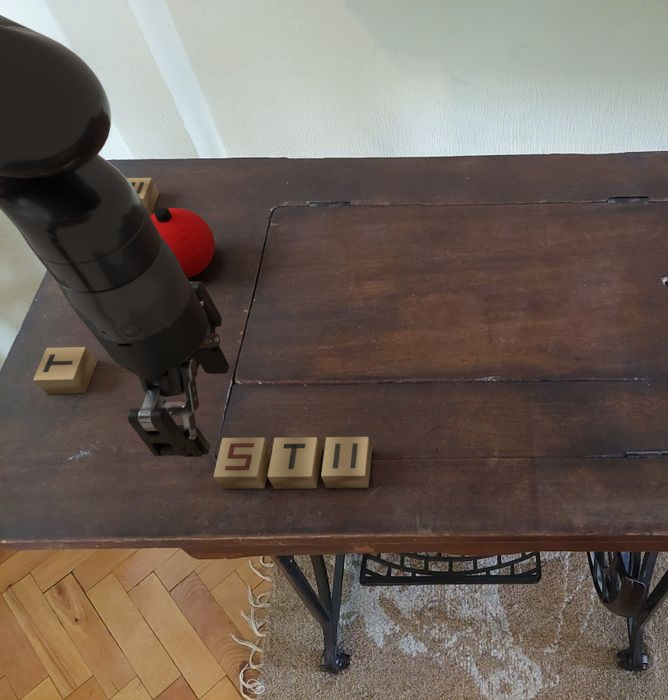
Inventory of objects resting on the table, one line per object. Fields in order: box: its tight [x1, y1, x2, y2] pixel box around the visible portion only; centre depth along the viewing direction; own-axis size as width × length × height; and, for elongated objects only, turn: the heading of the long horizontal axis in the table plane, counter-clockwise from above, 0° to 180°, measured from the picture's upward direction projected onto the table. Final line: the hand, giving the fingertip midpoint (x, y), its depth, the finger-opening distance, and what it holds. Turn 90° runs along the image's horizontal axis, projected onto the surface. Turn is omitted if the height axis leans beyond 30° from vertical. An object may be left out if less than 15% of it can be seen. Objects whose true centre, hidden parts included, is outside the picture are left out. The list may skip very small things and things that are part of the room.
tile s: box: [213, 437, 273, 490], centre depth 68 cm, size 4×4×3 cm
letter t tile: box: [32, 346, 98, 395], centre depth 75 cm, size 4×4×3 cm
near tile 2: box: [267, 436, 323, 490], centre depth 68 cm, size 4×4×3 cm
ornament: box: [150, 207, 216, 279], centre depth 83 cm, size 9×9×10 cm
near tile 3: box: [321, 436, 373, 489], centre depth 69 cm, size 4×4×3 cm
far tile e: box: [126, 177, 160, 216], centre depth 93 cm, size 4×4×3 cm
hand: (208, 409), depth 60 cm, fingers open, 8 cm apart
